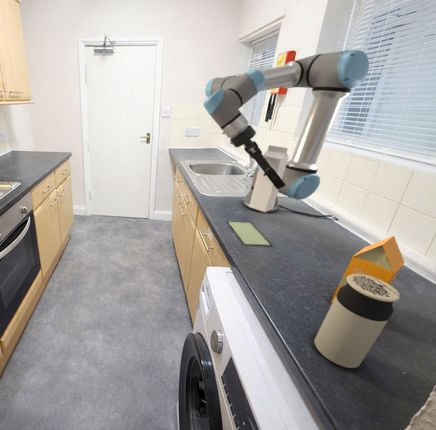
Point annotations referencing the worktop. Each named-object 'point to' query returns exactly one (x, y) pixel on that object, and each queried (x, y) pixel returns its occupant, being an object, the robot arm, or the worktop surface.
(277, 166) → the milk
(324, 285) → the worktop surface
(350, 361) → the travel mug
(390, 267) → the orange juice
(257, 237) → the sage mat
